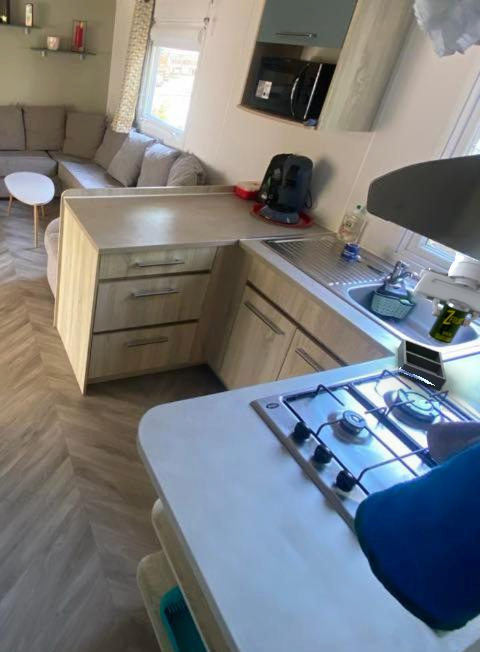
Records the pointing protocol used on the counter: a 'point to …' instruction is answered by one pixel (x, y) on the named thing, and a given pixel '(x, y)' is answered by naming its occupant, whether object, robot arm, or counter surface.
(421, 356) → the caddy
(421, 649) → the counter surface
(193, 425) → the counter surface
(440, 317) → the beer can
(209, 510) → the counter surface
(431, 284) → the robot arm
